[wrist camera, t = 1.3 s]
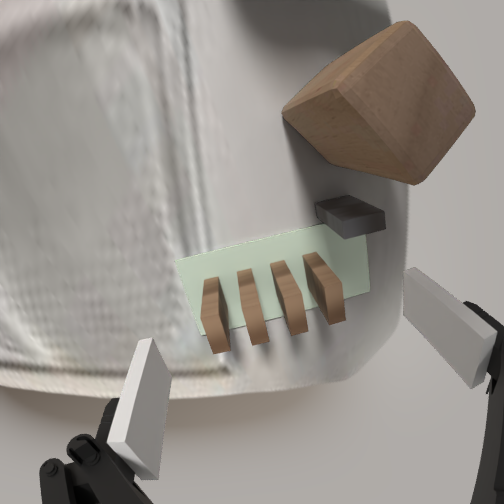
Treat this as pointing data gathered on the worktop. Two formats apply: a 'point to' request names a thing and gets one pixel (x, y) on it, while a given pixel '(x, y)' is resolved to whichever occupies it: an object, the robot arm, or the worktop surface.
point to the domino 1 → (251, 307)
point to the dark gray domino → (350, 216)
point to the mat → (259, 258)
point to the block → (384, 107)
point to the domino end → (215, 316)
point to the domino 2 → (289, 298)
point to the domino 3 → (324, 288)
